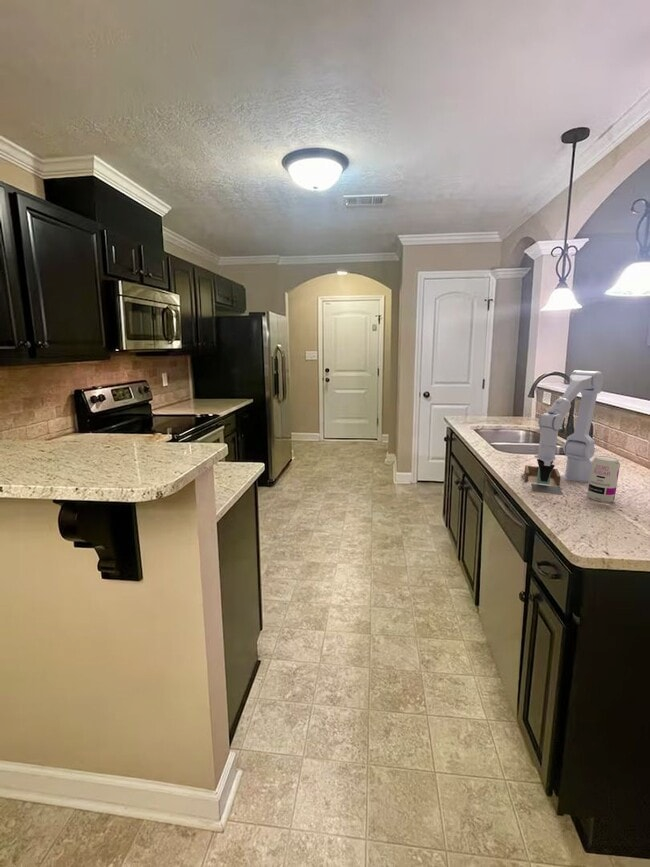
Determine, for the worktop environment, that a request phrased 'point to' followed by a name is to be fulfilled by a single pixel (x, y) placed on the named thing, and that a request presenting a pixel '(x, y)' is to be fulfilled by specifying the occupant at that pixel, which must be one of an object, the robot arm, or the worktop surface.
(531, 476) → the walnut box
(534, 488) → the slate mat
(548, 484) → the block
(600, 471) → the supplement can
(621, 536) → the worktop surface
